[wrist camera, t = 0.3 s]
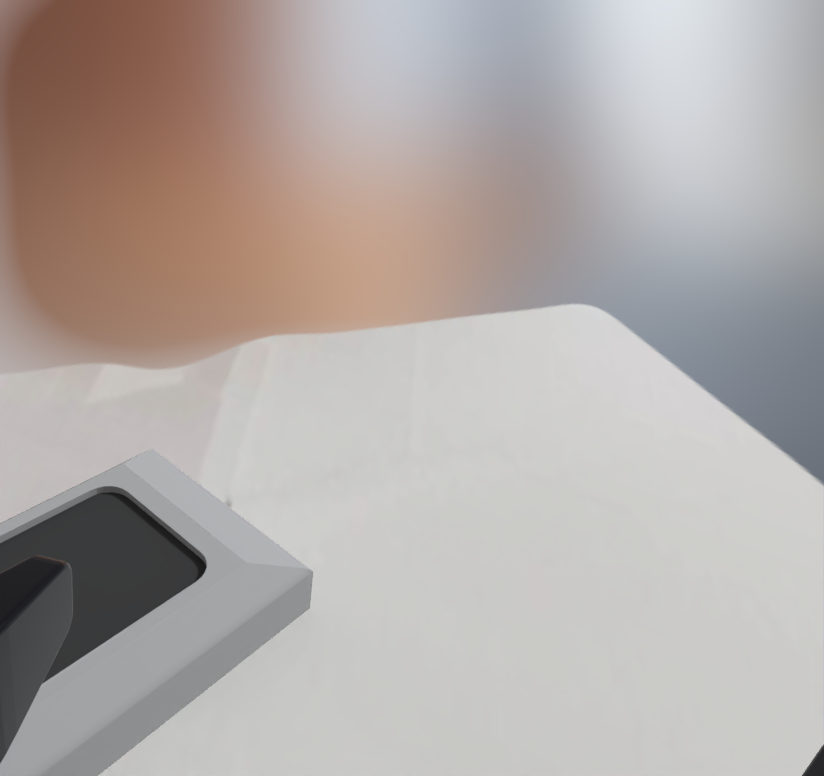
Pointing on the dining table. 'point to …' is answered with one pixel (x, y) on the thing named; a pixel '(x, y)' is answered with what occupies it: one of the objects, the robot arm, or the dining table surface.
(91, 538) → the grey device
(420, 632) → the dining table surface
